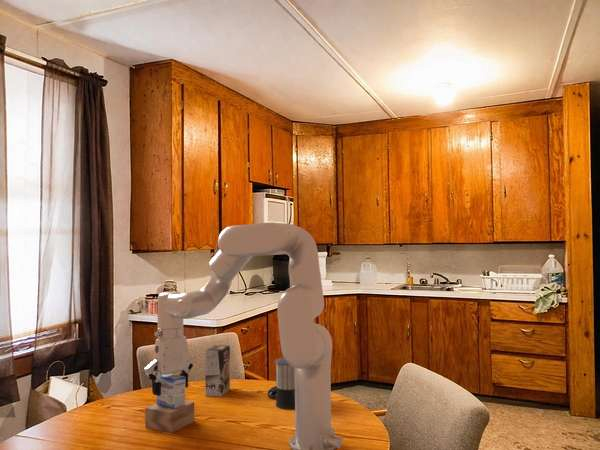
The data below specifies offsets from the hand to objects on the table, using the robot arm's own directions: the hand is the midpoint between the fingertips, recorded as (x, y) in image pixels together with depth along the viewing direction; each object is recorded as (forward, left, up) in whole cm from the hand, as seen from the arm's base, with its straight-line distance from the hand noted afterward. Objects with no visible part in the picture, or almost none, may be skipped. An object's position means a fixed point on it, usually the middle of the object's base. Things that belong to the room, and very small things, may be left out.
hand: (170, 390), depth 141 cm
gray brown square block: (0, 0, -10) cm, 10 cm away
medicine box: (0, 0, -4) cm, 4 cm away
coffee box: (+12, -29, -10) cm, 33 cm away
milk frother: (-14, -36, -10) cm, 40 cm away
